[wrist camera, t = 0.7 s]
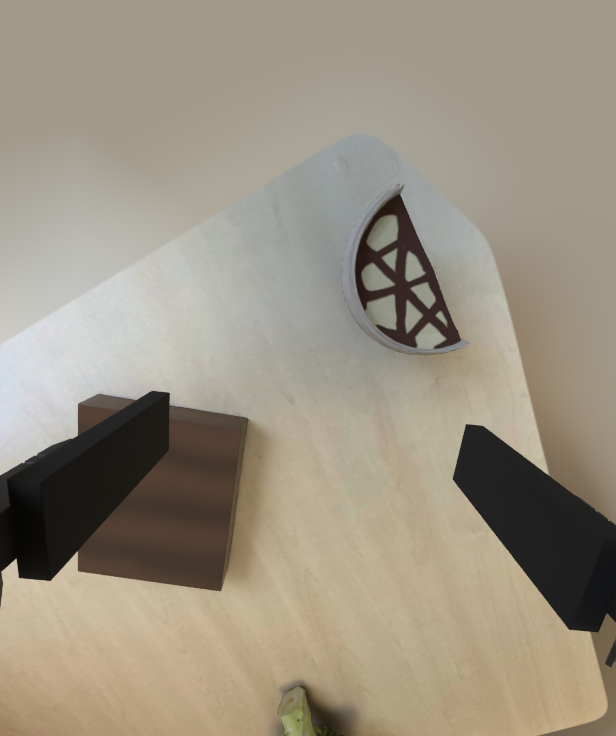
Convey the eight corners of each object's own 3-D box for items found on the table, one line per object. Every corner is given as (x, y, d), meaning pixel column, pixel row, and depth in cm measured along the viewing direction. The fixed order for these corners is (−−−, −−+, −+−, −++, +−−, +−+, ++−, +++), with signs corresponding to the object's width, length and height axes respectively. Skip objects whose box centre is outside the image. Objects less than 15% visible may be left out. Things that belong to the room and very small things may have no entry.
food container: (311, 248, 29) (311, 225, 20) (370, 216, 29) (400, 175, 19) (366, 361, 32) (391, 390, 22) (422, 333, 31) (473, 350, 21)
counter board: (98, 393, 33) (77, 403, 30) (248, 417, 33) (241, 429, 30) (95, 550, 37) (77, 571, 34) (227, 569, 38) (220, 591, 35)
